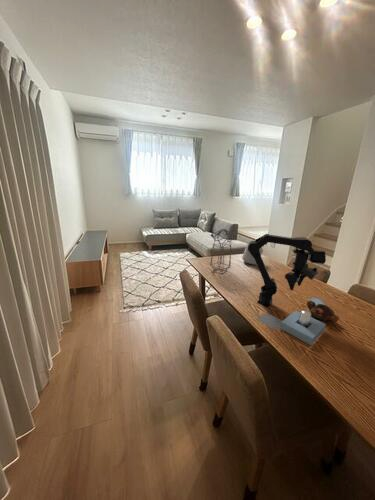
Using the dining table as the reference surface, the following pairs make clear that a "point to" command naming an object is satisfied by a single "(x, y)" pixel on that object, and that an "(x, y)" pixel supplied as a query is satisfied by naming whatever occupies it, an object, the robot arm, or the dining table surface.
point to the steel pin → (304, 318)
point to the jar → (249, 256)
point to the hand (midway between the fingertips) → (295, 287)
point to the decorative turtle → (321, 312)
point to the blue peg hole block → (303, 328)
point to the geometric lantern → (222, 248)
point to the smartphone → (317, 301)
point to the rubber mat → (270, 320)
